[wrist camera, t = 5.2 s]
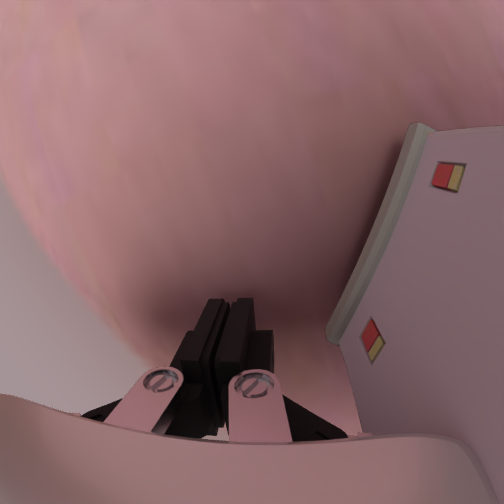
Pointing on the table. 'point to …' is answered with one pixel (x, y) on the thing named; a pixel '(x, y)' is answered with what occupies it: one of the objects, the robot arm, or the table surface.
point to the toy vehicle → (433, 297)
